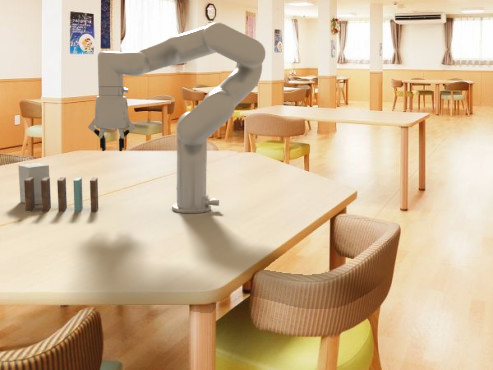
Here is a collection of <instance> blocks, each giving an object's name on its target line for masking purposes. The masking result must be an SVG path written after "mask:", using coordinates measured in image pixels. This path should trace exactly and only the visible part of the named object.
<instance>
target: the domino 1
mask: <svg viewBox="0 0 493 370" xmlns="http://www.w3.org/2000/svg"><path fill="white" fill-rule="evenodd" d="M24 186H25V203H24V204H25V205H24V206H25V212H26V211H31V212H32V211H33V210H35V208H36V205H35V196H34V177H28V178H27V179H25V180H24Z"/></svg>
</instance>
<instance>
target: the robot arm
mask: <svg viewBox="0 0 493 370" xmlns="http://www.w3.org/2000/svg"><path fill="white" fill-rule="evenodd" d="M216 53H217V54H219V55H221V56H223V57H225V58H226V59H228V60H230V61H233V62H236V66H235V69H233V71H232V72H231V73H230V74H229V75H228V76H227V77H226V78H225V79H224V80H222V82H221V83H220V84H218V85H216V86H215V88H213V89H212V90H210V91H209V92H208V93H207V94H206V95H205V96H204V98H203V100H202V101H200V102H199V103H198V104H197V105H196V106H195V107H194V108H193V109H192V110H191V111H186V112H184V113H183V114H181V115H180V116H179V118H178V119H177V122H176V202H175V203H174V204H172V205H171V208H172V209H171V210H173V211H174V212H177V213H183V214H202V213H206V212H209V211H211V209H212V206H215V207H216V206H217V207H219V206H220V199H217V198H210V197H209V194H207V163H208V161H207V160H208V158H207V157H208V156H207V155H208V150H207V148H208V147H207V146H208V144H207V143H208V140H207V139H208V138H210V137H211V136H212V135H213V134H215V132H217V131H218V130H219V129H220V128H221V127H222V126H223V125H225V123H227V122H228V121H229V120H230V119H231V118H232V117H233V114H234V112H235V109H236V107H237V106H238V105H239V104H240V103H241V102H242V101H243V100H245V98H247V97H248V96H249V94H250V93H252V91H254V89H255V88H256V87H257V85H258V84H259V82H260V79H261V76H262V71H263V63H264V61H265V59H266V49H265V47H264V45H263V44H262V42H260V41H259V40H257V39H255V38H253V37H251V36H249V35H247V34H245V33H244V32H241V31H239V30H236V29H235V28H233V27H231V26H228V25H227V24H225V23H222V22H219V21H218V22H217V21H216V22H212V23H210V24H208V25H206V26H202V27H199V28H196V29H193V30H189V31H186V32H183V33H180V34H176V35H174V36H172V37H170V38H168V39H166V40H164V41H162V42H160V43H157V44H154V45H152V46H151V45H150V46H149V47H146V48H142V49H138V50H132V51H122V52H120V51H115V50H114V51H113V50H112V51H111V50H107V51H105V50H104V51H100V52H98V54H97V79H98V80H97V81H98V83H97V84H98V95H97V96H96V98H95V104H94V105H95V106H94V118H93V119H92V121H91V122H90V124H89V125H88V127H87V128H88V129H89V130H90V131H91V132H93V133H94V135H96V136H97V137H98V138H99V146H100V147H99V148H100V149H101V152H104V151H106V149H107V145H106V143H107V141H106V139H107V138H106V137H105V133H106V130H118V133H119V139H118V151H119V152H123V149H125V137H126V136H128V134H129V133H131V132H133V131H134V130H135V129H136V126H135V125H134V123H133V122H132V121H131V119H130V118H129V117H130V116H129V107H128V106H129V105H128V100H127V96H124V95H125V94H128V93H129V88H126V87H124V76H130V77H131V76H132V77H140V76H143V75H145V74H148V73H151V72H153V71H157V70H160V69H163V68H166V67H169V66H170V67H171V66H176V65H182V64H185V63H187V62H191V61H193V60H197V59H199V58H203V57H207V56H209V55H214V54H216ZM127 127H128V128H127ZM126 128H127V129H126ZM124 129H125V130H124Z"/></svg>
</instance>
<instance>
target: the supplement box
mask: <svg viewBox="0 0 493 370" xmlns="http://www.w3.org/2000/svg"><path fill="white" fill-rule="evenodd" d="M17 167H18V180H19V183H18V184H19V200H20V203H24V204H25V186H24V180H25V179H27V178H28V177H34V196H35V206H36V205H42V196H41V180H42V179H43V178H44V177H50V165H48V164H44V163H41V162H33V163H25V164H18V166H17Z"/></svg>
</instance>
